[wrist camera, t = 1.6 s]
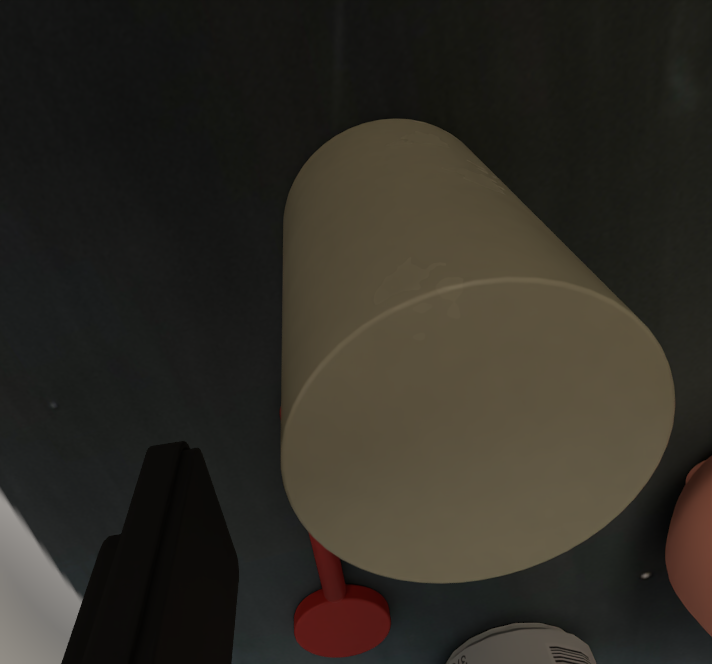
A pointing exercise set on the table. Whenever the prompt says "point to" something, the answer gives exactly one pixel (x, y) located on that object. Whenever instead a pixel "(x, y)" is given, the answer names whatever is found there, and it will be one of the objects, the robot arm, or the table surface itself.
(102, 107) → the table surface
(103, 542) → the robot arm
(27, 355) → the table surface
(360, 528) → the beige cylinder
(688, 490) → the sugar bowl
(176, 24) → the table surface
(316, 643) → the spoon
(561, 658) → the supplement can
